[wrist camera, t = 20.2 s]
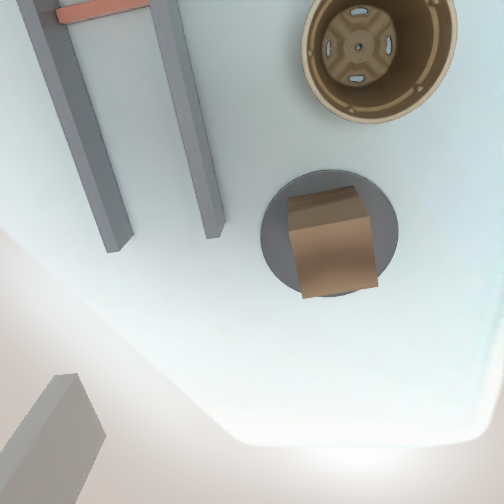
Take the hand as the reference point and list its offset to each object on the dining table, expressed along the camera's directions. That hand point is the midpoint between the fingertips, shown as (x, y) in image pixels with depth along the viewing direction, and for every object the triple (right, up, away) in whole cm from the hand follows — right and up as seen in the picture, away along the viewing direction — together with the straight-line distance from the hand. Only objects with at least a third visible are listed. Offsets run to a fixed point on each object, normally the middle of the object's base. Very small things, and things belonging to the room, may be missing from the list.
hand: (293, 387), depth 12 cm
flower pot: (+7, +21, +21) cm, 31 cm away
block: (+6, +7, +27) cm, 28 cm away
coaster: (+6, +6, +28) cm, 30 cm away
